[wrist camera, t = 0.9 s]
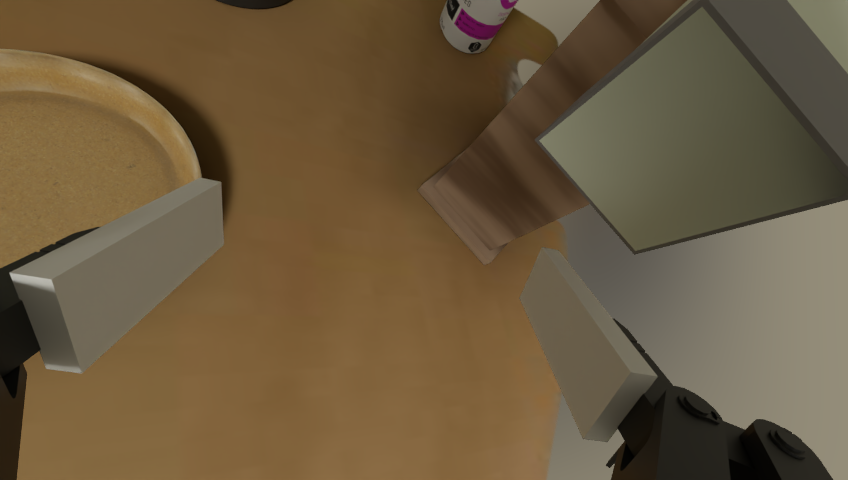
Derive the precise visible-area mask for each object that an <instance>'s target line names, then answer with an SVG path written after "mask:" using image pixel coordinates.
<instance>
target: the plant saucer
mask: <svg viewBox="0 0 848 480" xmlns="http://www.w3.org/2000/svg"><path fill="white" fill-rule="evenodd" d="M198 178H202V174H201V169H200V165H199V161H198V157H197V155H196V152H195V149H194V147H193V145H192V143H191V141H190V139H189V138H188V136H187V134H186V132H185V131H184V130H183V128H182V127H181V125H180V124H179V123H178V122H177V120H176V119H175V118H174V117H173V116H172V115H171V114H170V113H169V112H168V111H167V110H166V109H165V108H164V107H163V106H162V105H161V104H160V103H159V102H158V101H156V100H155V99H154V98H153V97H151V96H150V95H149V94H147V93H146V92H144V91H143V90H141V89H140V88H138V87H137V86H135V85H133V84H132V83H130V82H128V81H126V80H124V79H122V78H120V77H118V76H116V75H114V74H112V73H110V72H108V71H105V70H103V69H100V68H97V67H95V66H92V65H89V64H86V63H83V62H79V61H76V60H72V59H68V58H64V57H60V56H55V55H50V54H45V53H39V52H31V51H23V50H13V49H0V268H2V267H4V266H6V265H8V264H11V263H13V262H15V261H17V260H19V259H21V258H23V257H25V256H27V255H29V254H31V253H34V252H39V251H40V249H42V248H44V247H46V246H48V245H50V244H55V242H57V241H59V240H61V239H63V238H65V237H67V236H69V235H71V234H73V233H76V232H80V231H84V230H88V229H91V228H95V227H102V226H104V225H106V224H108V223H110V222H112V221H114V220H116V219H118V218H120V217H122V216H124V215H126V214H128V213H130V212H132V211H134V210H136V209H138V208H140V207H142V206H144V205H146V204H148V203H150V202H152V201H154V200H156V199H158V198H160V197H162V196H164V195H166V194H168V193H170V192H172V191H174V190H176V189H178V188H180V187H182V186H184V185H186V184H188V183H190V182H192V181H194V180H196V179H198Z"/></svg>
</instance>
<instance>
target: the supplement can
mask: <svg viewBox="0 0 848 480" xmlns="http://www.w3.org/2000/svg"><path fill="white" fill-rule="evenodd" d="M517 1H518V0H447V2H446V4H445V6H444V9H443V11H442V13H441V17H440V25H441V29H442V31H443V34H444V36H445V38H446V40H447V41H448V42H449V43H450V44H451V45H452V46H453V47H455V48H456V49H458V50H459V51H462V52H465V53H480V52H482V51H485V49H486V48H487V47H488V46H489V44H490V43H491V41H492V40H493V38H494V36H495V35H496V33H497V32H498V30H499V29H500V27H501V26H502V24H503V23H504V21H505V20H506V18H507V17H508V15H509V14H510V12H511V11H512V9H513V8H514V6H515V4H516V3H517Z"/></svg>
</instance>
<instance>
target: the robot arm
mask: <svg viewBox="0 0 848 480" xmlns="http://www.w3.org/2000/svg"><path fill="white" fill-rule="evenodd" d="M217 1H220V2H223V3H226V4H229V5H233V6H238V7H244V8H270V7H275V6H279V5H282V4H284V3H286V2H288V1H290V0H217ZM223 245H224V234H223V211H222V188H221V182H219V181H214V180H209V179H205V178H198V179H196V180H194V181H192V182H190V183H188V184H186V185H184V186H182V187H180V188H178V189H176V190H174V191H172V192H170V193H168V194H166V195H164V196H162V197H160V198H158V199H156V200H154V201H152V202H150V203H148V204H146V205H144V206H142V207H140V208H138V209H136V210H134V211H132V212H130V213H128V214H126V215H124V216H122V217H120V218H118V219H116V220H114V221H112V222H110V223H108V224H106V225H104V226H102V227H95V228H91V229H88V230H84V231H80V232H76V233H73V234H71V235H69V236H67V237H65V238H63V239H61V240H59V241H57V242H55V244H50V245H48V246H46V247H44V248H42V249H40V251H39V252H34V253H31V254H29V255H27V256H25V257H23V258H21V259H19V260H17V261H15V262H13V263H11V264H8V265H6V266H4V267H2V268H0V480H16V479H17V469H18V459H19V449H20V439H21V429H22V419H23V409H24V399H25V389H26V379H27V372H26V370H25V367H24V365H23V362H25V361H26V360H27V359H29V358H30V357H31V356H33V355H34V354H35V353H37V352H38V351H40V353H41V356H42V359H43V361H44V364H45V366H46V369H52V370H60V371H67V372H75V373H83V372H84V371H85V370H86V369H87V368H88V367H89V366H91V365H92V364H93V363H94V362H95V361H96V360H97V359H98V358H99V357H101V356H102V355H103V354H104V353H105V352H106V351H107V350H108V349H109V348H110V347H112V346H113V345H114V344H115V343H116V342H117V341H118V340H119V339H120V338H121V337H123V336H124V335H125V334H126V333H127V332H128V331H129V330H130V329H131V328H132V327H134V326H135V325H136V324H137V323H138V322H139V321H140V320H141V319H142V318H143V317H145V316H146V315H147V314H148V313H149V312H150V311H151V310H152V309H153V308H154V307H156V306H157V305H158V304H159V303H160V302H161V301H162V300H163V299H164V298H165V297H167V296H168V295H169V294H170V293H171V292H172V291H173V290H174V289H175V288H177V287H178V286H179V285H180V284H181V283H182V282H183V281H184V280H185V279H186V278H188V277H189V276H190V275H191V274H192V273H193V272H194V271H195V270H196V269H197V268H199V267H200V266H201V265H202V264H203V263H204V262H205V261H206V260H207V259H208V258H210V257H211V256H212V255H213V254H214V253H215V252H216V251H217V250H218V249H219V248H221V247H222V246H223ZM520 300H521V303H522V305H523V307H524V309H525V312H526V314H527V316H528V318H529V320H530V323H531V325H532V327H533V329H534V331H535V334H536V336H537V338H538V340H539V343H540V345H541V347H542V349H543V351H544V354H545V356H546V358H547V360H548V362H549V365H550V367H551V369H552V371H553V374H554V376H555V378H556V380H557V382H558V385H559V387H560V389H561V391H562V393H563V396H564V398H565V400H566V402H567V405H568V406H569V409H570V411H571V413H572V416H573V417H574V420H575V422H576V424H577V427H578V429H579V431H580V433H581V435H582V438H583V439H587V440H595V441H603V442H608V441H609V439H610V438H611V437H612V435H613V434H614V433H615V431H616V430H617V429H618V430H619V431H620V433H621V435H622V437H623V438H624V440H625V441H624V443H623V444H622V445H621V446H620V448H619V449H618V450H617V451H616V453H615V454H614V455H613V456H612V457H611V459H610V460H609V461H608V463H607V464H606V466H608V467H609V468H610V467H611V466H612V465H613V464H615V466H614V470H613V474H612V478H611V480H833V479H832V477H831V476H830V474H829V473H828V472H827V470H826V468H825V467H824V466H823V464H822V462H821V461H820V460H819V458H818V457H817V456H816V455H815V453H814V452H813V451H812V450H811V449H810V448H809V447H808V446H807V445H806V444H804V443H803V442H802V440H801V439H799V438H798V437H797V436H796V435H794V434H792V432H790V431H788V430H787V429H785V428H782V427H780V426H778V425H776V424H775V423H772V422H769V421H766V420H763V419H757V420H755V421H754V422H753V423H752V424H751V425H750V426H749V427H748V428H747V429H746V430H744V429H742V428H739V427H737V426H734V425H732V424H729V423H727V422H724V421H723V420H722V418H721V417H720V415H719V414H718V413H717V412H716V410H715V409H714V408H713V407H712V406H711V405H709V404H708V403H707V402H706V401H705V400H704V399H702V398H701V397H699V396H698V395H696V394H695V393H693V392H691V391H689V390H687V389H685V388H681V387H677V386H673V385H672V384H671V383H670V381H669V380H668V379H667V378H666V376H665V375H664V374H663V373H662V371H661V370H660V369H659V368H658V366H657V365H656V364H655V363H654V361H653V360H652V359H651V358H650V357H649V355H648V354H647V353H645V350H644V349H643V348H642V347H641V345H640V344H638V343H637V341H636V339H635V338H634V337H633V336H632V334H631V333H630V332H629V331H628V330H627V329H626V328H625V327H624V326H623V325H621V324H620V323H619V322H618V321H616V320H615V319H613V318H611V316H610V315H609V314H608V313H607V311H606V310H605V309H604V308H603V306H602V305H601V304H600V302H599V301H598V300H597V299H596V297H595V296H594V295H593V293H592V292H591V291H590V290H589V288H588V287H587V286H586V285H585V284H584V282H583V281H582V280H581V278H580V277H579V276H578V275H577V273H576V272H575V271H574V270H573V268H572V267H571V266H570V264H569V263H568V262H567V260H566V259H565V258H564V257H563V255H562V254H561V253H560V252H559V250H554V249H549V248H544V247H542V248H541V251H540V253H539V255H538V257H537V260H536V262H535V264H534V266H533V269H532V271H531V273H530V275H529V278H528V280H527V282H526V284H525V287H524V289H523V291H522V293H521V296H520Z"/></svg>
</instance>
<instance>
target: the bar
mask: <svg viewBox="0 0 848 480" xmlns="http://www.w3.org/2000/svg"><path fill="white" fill-rule="evenodd" d="M535 141H536V142H537V144H538V145H539V146H540V147H541V148H542V149H543V150H544V152H545V153H546V154H547V155H548V156H549V157H550V158H551V160H552V161H553V162H554V163H555V164H556V165H557V166H558V168H559V169H560V170H561V171H562V172H563V173H564V174H565V176H566V177H567V178H568V179H569V180H570V181H571V182H572V184H573V185H574V186H575V187H576V188H577V189H578V190H579V192H580V193H581V194H582V195H583V196H584V197H585V199H586V200H587V201H588V202H589V203H590V204H591V205H592V206H593V208H594V209H595V210H596V211H597V212H598V213H599V215H600V216H601V217H602V218H603V219H604V220H605V221H606V223H607V224H608V225H609V226H610V227H611V228H612V229H613V231H614V232H615V233H616V234H617V235H618V236H619V237H620V239H621V240H622V241H623V242H624V243H625V244H626V245H627V247H628V248H629V249H630V250H631V251H632V252H633V254H634V255H635V254H638V253H642V252H646V251H650V250H654V249H658V248H662V247H666V246H670V245H674V244H677V243H681V242H685V241H689V240H693V239H697V238H701V237H705V236H709V235H712V234H716V233H720V232H724V231H728V230H732V229H736V228H740V227H744V226H747V225H751V224H755V223H759V222H763V221H767V220H771V219H775V218H779V217H782V216H786V215H790V214H794V213H798V212H802V211H806V210H809V209H813V208H817V207H821V206H825V205H829V204H833V203H836V202H840V201H845V200H848V0H687V1H686V2H685V3H684V4H683V5H682V6H681V7H680V8H679V9H678V10H676V11H675V12H674V13H673V14H672V15H671V16H670V17H669V18H668V19H667V20H666V21H665V22H664V23H663V24H662V25H661V26H660V27H659V28H657V29H656V30H655V31H654V32H653V33H652V34H651V35H650V36H649V37H648V38H647V39H646V40H645V41H644V42H643V43H642V44H641V45H640V46H638V47H637V48H636V49H635V50H634V51H633V52H632V53H631V54H629V55H628V56H627V57H626V58H625V59H624V60H622V61H621V62H620V63H619V64H618V65H617V66H615V67H614V68H613V69H612V70H611V71H610V72H608V73H607V74H606V75H605V76H604V77H603V78H601V79H600V80H599V81H598V82H597V83H596V84H594V85H593V86H592V87H591V88H590V89H589V90H587V91H586V92H585V93H584V94H583V95H582V96H581V97H580V98H579V99H578V100H576V101H575V102H574V103H573V104H572V105H571V106H570V107H569V108H568V109H567V110H566V111H565V112H564V113H563V114H561V115H560V116H559V117H558V118H557V119H556V120H555V121H554V122H553V123H552V124H551V125H550V126H549V127H548V128H546V129H545V130H544V131H543V132H542V133H541V134H540V135H539V136H538V137H537V138H536V139H535Z"/></svg>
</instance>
